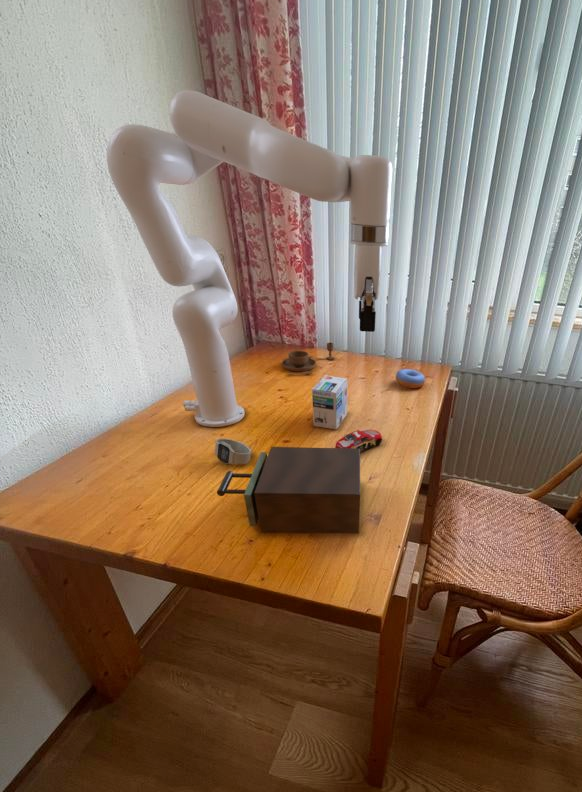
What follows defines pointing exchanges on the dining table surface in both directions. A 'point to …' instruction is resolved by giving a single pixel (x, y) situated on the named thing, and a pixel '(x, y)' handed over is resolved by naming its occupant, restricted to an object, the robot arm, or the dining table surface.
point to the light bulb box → (329, 402)
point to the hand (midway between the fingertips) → (366, 324)
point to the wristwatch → (232, 451)
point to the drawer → (249, 490)
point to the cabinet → (309, 491)
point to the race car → (360, 440)
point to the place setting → (302, 361)
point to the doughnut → (410, 378)
